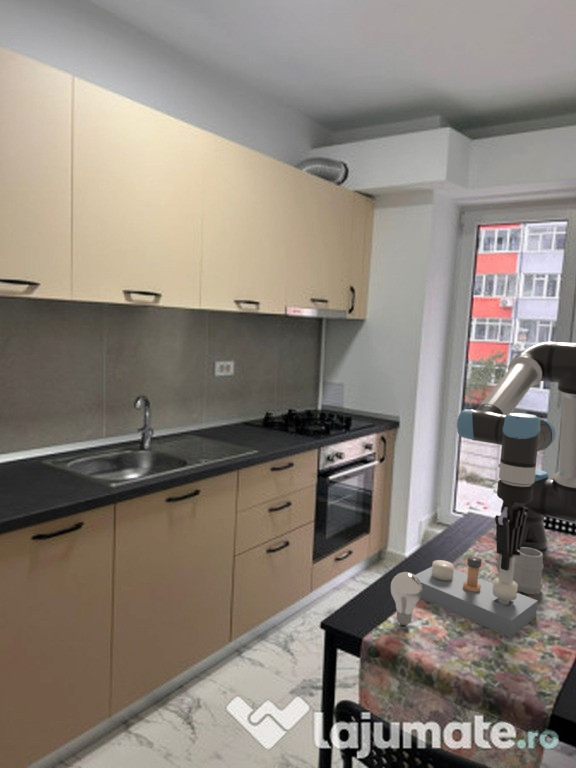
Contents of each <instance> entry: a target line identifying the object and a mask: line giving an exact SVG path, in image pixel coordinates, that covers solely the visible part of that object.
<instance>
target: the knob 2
mask: <svg viewBox="0 0 576 768" xmlns="http://www.w3.org/2000/svg"><path fill="white" fill-rule="evenodd" d="M498 580H499V577H495V578H494V579H493V595H494V596H496V597H497V598H498V603H500V604H502V605H505V606H507V607H508V606H509V601H511V600H515V599H516V597H517V593H518V591H517V588H518V584H517V583H516V582H515V581H513V583H512V584H510V585H509V584H506V583H504V582H501V581H498Z"/></svg>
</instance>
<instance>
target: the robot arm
mask: <svg viewBox="0 0 576 768" xmlns="http://www.w3.org/2000/svg"><path fill="white" fill-rule="evenodd" d="M540 382H550V383H556V384H557V390H558V392H559V393H560V394H561V395H562V398H563V399H562V415H561V416H562V417H561V431H560V432H561V433H560V447H559V448H560V449H559V466H558V468H559V469H558V471H557V472H556V473H554V474H553V475H552V478H550V477H549V476H550V475H549V473H548V472H547V471H546V470H545V471H544V470H541V469H536V468H537V459H538V457H537V456H538V452H540V451H543V450H546V449H547V448H548V447H550V446H551V445H552V444H553V443H554V441H555V439H556V437H557V436H556V433H557V432H556V429H555V426H554V424H552V422H550V420H547V419H546V418H541V417H539V416H537V415H536V414H530V413H524V412H523V413H522V412H521V413H520V412H514V411H515V410H516V407H518V404H520V403H521V401H522V400H523V399H524V397H525V395H526V394H527V393H528V391H529V390H530V389H531V388H532V387H534V386H536V385H538V384H539V383H540ZM456 420H457V421H456V429H457V435H459V436H460V437H461V438H463V439H467V440H471V441H474V442H475V441H476V442H482V443H488V444H494V445H500V446H501V449H500V462H499V464H497V465H498V466H497V467H498V468H499V470H498V471H499V472H498V478H499V480H498V481H497V487H496V488H497V489H496V496H497V497H498V498H499V499H501V500H502V505H501V507H500V515H497V514H496V515H495V517H494V521H495V527H496V528H495V529H496V530H495V539H496V553H497V554H498V555H499V554H501V561H500V570H499V571H498V578H499V580H498V581H501V582H504V583H506V584H509V585H510V584H512V583H513V575H514V566H515V557H516V555H518V556H520V552H517V550H520V549H521V547H527V548H533V549H536V550H538V551H540V552H541V551H543V550H545V549H546V548H547V545H548V538H547V534H546V533H547V532H546V530H545V525H544V517H549V518H552V519H557V520H561V521H564V522H567V523H572V524H576V342H563V341H562V342H559V341H558V342H557V341H543V342H541V343H536V344H534V345H532V346H530V347H527V348H525V349H524V350H522V351H521V352H519V353H518V354H517V355H515V357H514V358H512V360H511V361H510V362H509V364H508V367H507V371H506V372H505V374H504V375H503V376H502V377H501V379H499V381H498V382H497V384H496V385H495V386H494V387H493V389H491V391H490V392H489V393H488V395H487V396H486V397H485V398H484V399H483V401H482V402H481V403H480V404H479V406H478V407H477V408H476V409H472V408H471V409H462V410H461V411H460V413H459V415H458V416H457V419H456Z"/></svg>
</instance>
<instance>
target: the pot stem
mask: <svg viewBox="0 0 576 768" xmlns="http://www.w3.org/2000/svg"><path fill="white" fill-rule="evenodd" d="M466 565H467V566H468V567H467V568H468V569H467V574H468V577H467V581H465V582H464V583H463V588H464V589H465V590H466V591H469V592H473V593H477V592H480V589H481V585H480V584H478V578H479V571H480V568H482V559H481V558H479V557H477V556H468V557H467V561H466Z"/></svg>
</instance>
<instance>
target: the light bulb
mask: <svg viewBox="0 0 576 768" xmlns="http://www.w3.org/2000/svg"><path fill="white" fill-rule="evenodd" d="M415 575H416V574H414V573H412V572H408V571H403V572H399V573H397V574H396V575H395V576H394V577H393V578H392V580H391V582H390V594H391V597H392V598H393V600H394V603H395V609H396V617H395V618H396V621H397V622H398V624H400V625H401V626H402V625H403V626H402V627H406V626H407V625H409V624H410V623H412V618H413V617H412V616H413V613H414V610H415V606H416V605H417V604H418V602H419V601H420V600H421V596H422V584H421V582H420V580H419V579H418V577H417V576H415Z"/></svg>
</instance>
